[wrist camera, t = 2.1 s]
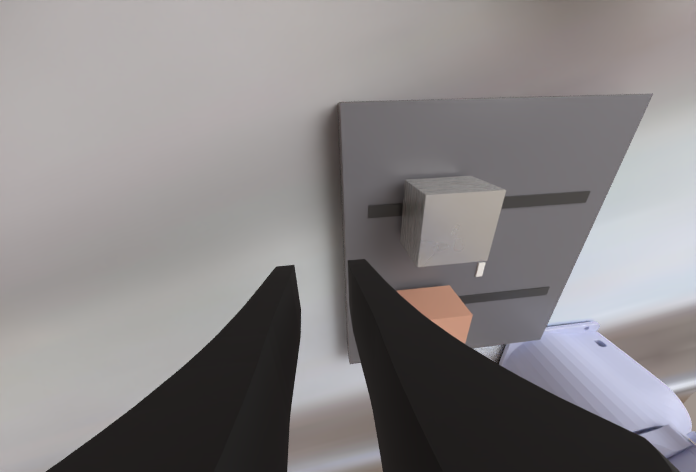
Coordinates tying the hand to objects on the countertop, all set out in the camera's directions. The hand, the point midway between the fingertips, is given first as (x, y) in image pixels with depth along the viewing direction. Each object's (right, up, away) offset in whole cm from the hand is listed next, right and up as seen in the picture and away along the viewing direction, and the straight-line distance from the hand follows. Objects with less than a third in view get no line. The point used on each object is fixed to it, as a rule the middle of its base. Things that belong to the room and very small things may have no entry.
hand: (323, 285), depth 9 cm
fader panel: (+9, +1, +10) cm, 14 cm away
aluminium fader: (+6, +3, +6) cm, 9 cm away
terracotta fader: (+6, -4, +10) cm, 12 cm away
